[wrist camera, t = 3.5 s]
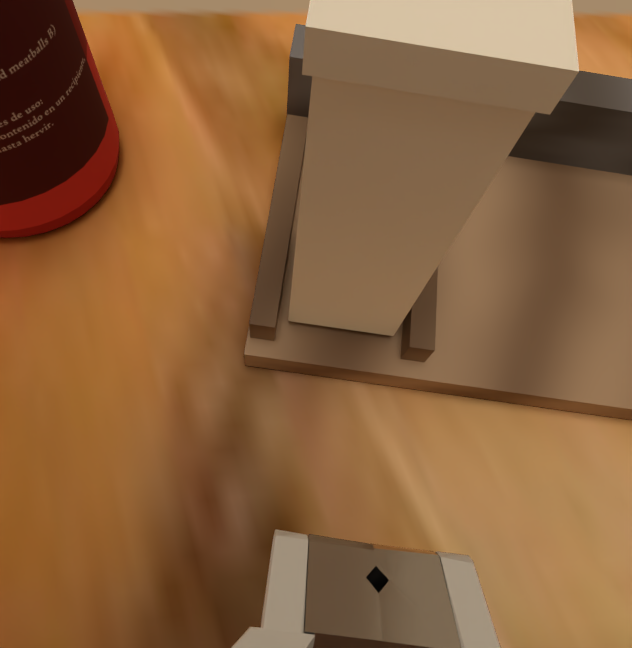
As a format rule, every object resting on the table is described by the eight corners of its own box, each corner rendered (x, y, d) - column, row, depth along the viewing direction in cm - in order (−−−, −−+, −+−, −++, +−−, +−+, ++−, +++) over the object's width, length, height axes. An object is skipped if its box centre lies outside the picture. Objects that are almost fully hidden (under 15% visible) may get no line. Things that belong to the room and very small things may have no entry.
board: (245, 365, 18) (239, 318, 14) (292, 102, 23) (298, 12, 19) (801, 444, 19) (941, 420, 15) (737, 173, 23) (832, 100, 19)
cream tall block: (283, 324, 17) (305, 26, 7) (298, 225, 18) (335, -137, 8) (397, 341, 17) (579, 71, 7) (403, 241, 19) (562, -98, 9)
